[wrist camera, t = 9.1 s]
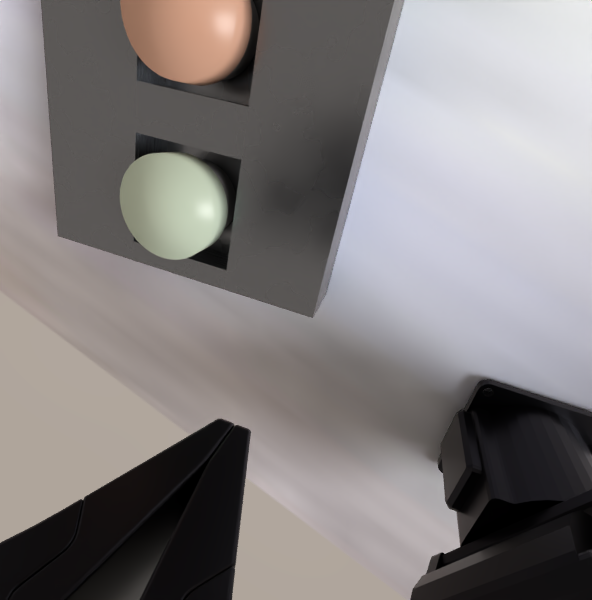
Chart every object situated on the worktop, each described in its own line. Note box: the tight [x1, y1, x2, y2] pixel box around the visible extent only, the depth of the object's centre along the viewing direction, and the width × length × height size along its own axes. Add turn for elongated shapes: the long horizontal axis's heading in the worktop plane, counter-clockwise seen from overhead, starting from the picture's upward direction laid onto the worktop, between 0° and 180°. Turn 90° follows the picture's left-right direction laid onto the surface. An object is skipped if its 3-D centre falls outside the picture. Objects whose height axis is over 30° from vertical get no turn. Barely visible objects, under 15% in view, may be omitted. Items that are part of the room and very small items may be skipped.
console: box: [41, 0, 404, 318], centre depth 16 cm, size 14×21×3 cm, turn 168°
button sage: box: [120, 152, 236, 260], centre depth 18 cm, size 4×4×3 cm
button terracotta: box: [120, 0, 259, 86], centre depth 14 cm, size 4×4×3 cm
